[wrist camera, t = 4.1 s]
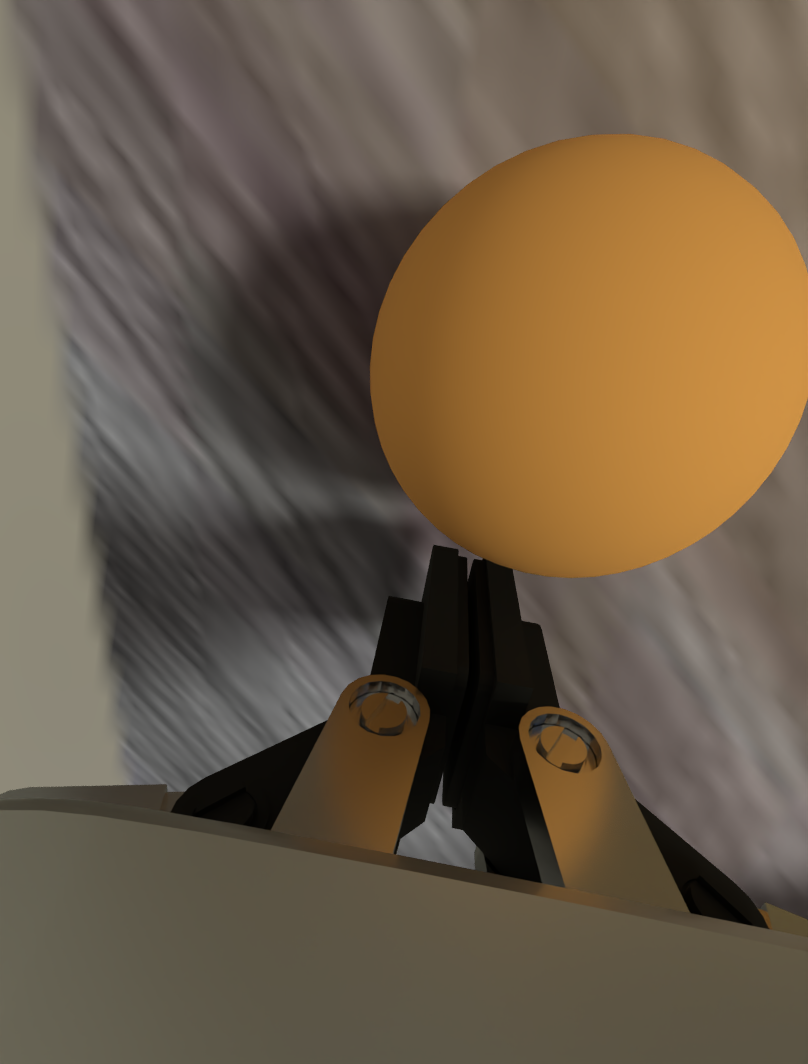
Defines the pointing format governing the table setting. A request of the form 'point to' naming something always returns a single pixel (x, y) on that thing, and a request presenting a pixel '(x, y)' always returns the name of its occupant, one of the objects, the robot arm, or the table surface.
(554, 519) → the ball
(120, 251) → the table surface
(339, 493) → the table surface
